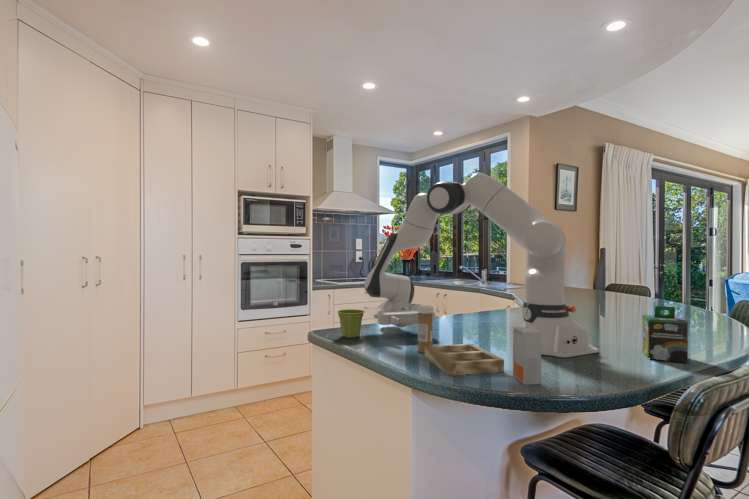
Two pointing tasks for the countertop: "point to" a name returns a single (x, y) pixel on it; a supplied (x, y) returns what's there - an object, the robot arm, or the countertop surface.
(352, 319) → the plant pot
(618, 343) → the countertop surface
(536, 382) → the skincare box
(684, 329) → the chalk box
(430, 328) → the sprinkles bottle
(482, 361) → the wooden compartment tray
